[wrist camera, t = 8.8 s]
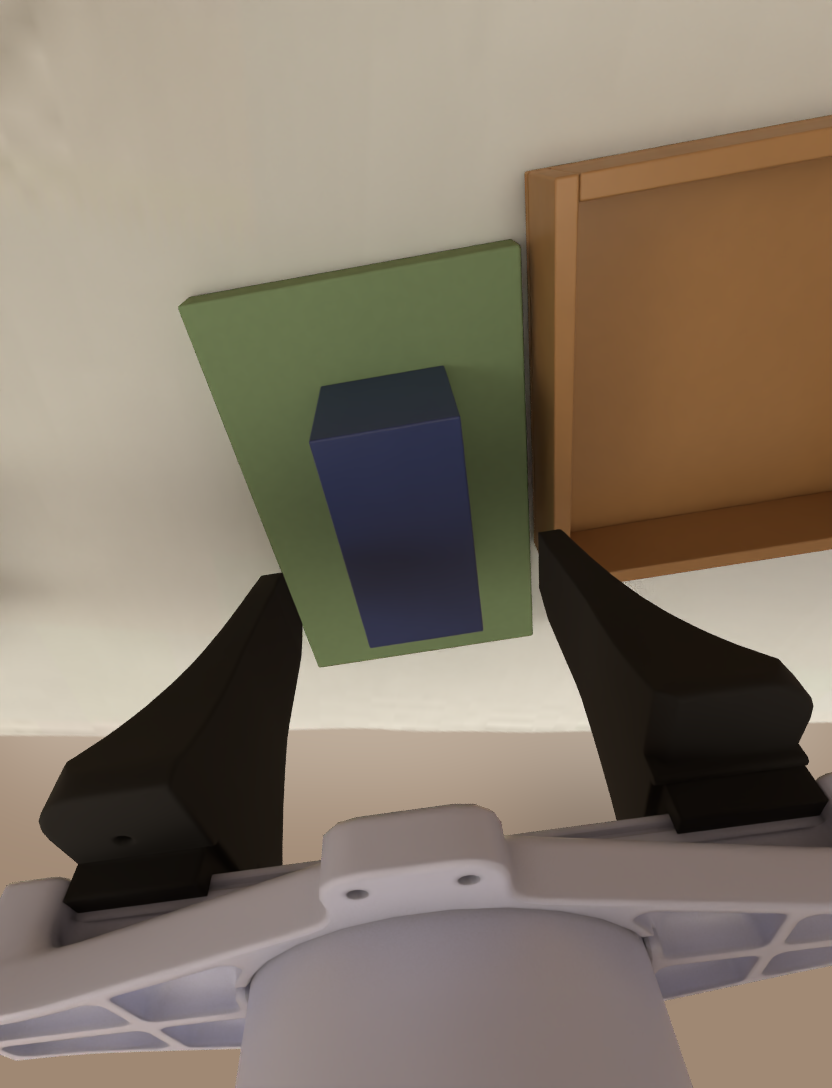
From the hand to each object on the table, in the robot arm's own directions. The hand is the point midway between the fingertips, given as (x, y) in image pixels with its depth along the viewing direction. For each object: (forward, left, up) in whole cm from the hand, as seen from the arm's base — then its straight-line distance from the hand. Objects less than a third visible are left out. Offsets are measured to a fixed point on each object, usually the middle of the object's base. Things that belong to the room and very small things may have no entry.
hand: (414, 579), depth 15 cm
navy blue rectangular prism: (0, 0, -5) cm, 5 cm away
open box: (-11, -2, -7) cm, 13 cm away
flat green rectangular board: (+1, +1, -7) cm, 7 cm away
